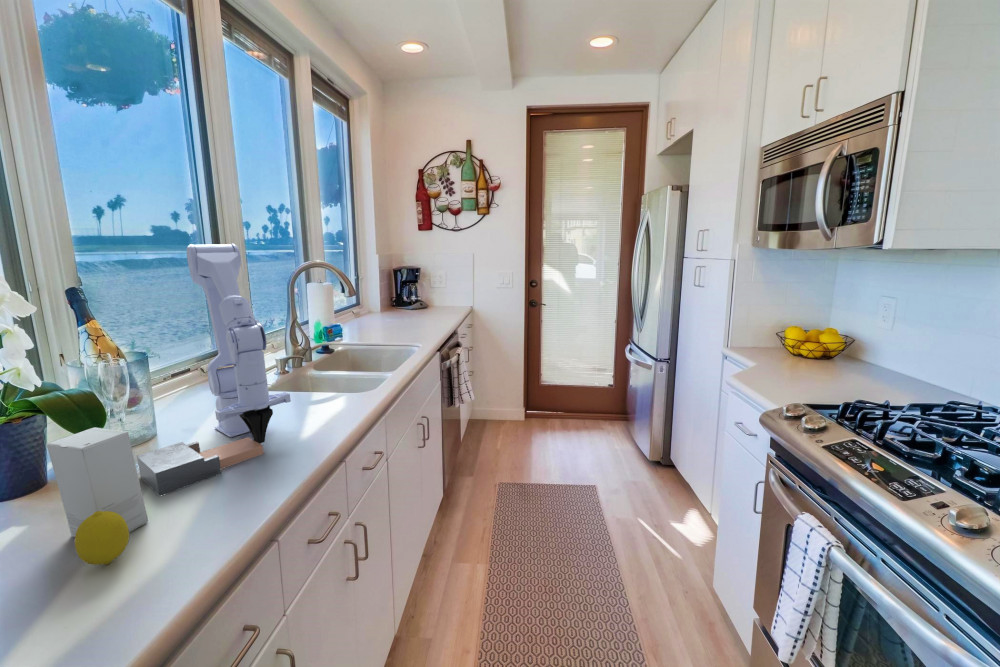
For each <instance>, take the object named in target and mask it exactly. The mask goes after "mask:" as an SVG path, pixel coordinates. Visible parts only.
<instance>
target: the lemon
mask: <svg viewBox="0 0 1000 667" xmlns="http://www.w3.org/2000/svg"><path fill="white" fill-rule="evenodd" d="M129 540H130V532H129V530H128V526H127V523H126V521H125V520H124V518H123V517H122V516H121V515H119V514H118V513H115V512H111V511H97V512H95V513H94V514H93V515H91V516H89V517H88V518H86V519H85V520H84V521H83V522H82V523H81V524H80V526H79V527H78V529H77V532H76V536H75V537H74V548H75V551H76V554H77V555H78V557H79V558H80V560H81V561H83V562H84V563H86V564H88V565H93V566H95V565H96V566H97V565H99V566H101V565H103V566H107V565H111V563H112V562H113V561H114V560H116V559H117V558H119V557H120V556H121V555H122V553H123V552H124V551H125V550H126V548H127V546H128V543H129Z"/></svg>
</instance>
